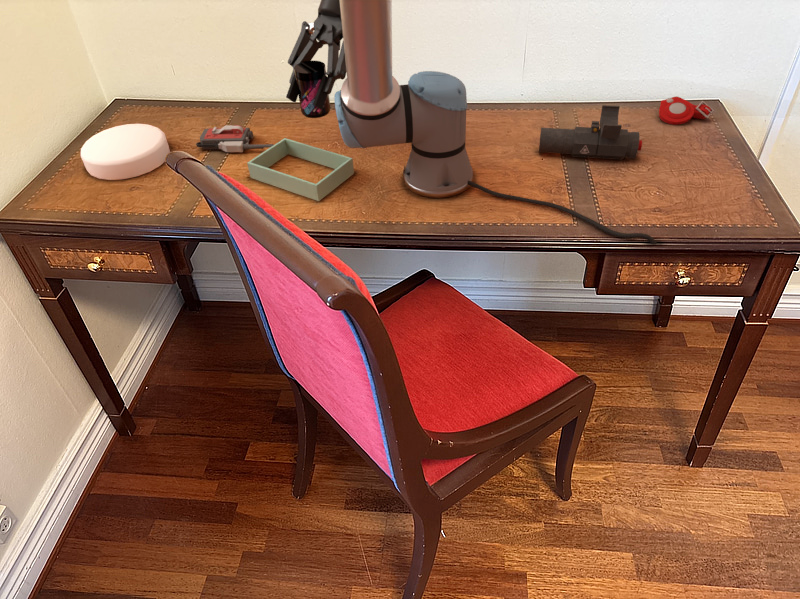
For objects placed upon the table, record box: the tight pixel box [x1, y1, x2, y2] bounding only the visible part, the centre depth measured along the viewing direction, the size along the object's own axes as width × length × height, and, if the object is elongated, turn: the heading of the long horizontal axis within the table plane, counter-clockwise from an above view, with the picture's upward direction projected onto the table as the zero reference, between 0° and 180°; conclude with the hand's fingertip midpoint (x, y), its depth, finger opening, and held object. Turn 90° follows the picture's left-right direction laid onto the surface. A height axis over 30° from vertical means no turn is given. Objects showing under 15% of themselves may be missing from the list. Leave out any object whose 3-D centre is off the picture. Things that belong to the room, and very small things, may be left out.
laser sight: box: [538, 104, 643, 161], centre depth 142 cm, size 10×22×10 cm, turn 78°
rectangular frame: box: [246, 137, 355, 202], centre depth 143 cm, size 20×13×4 cm, turn 57°
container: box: [80, 123, 171, 181], centre depth 153 cm, size 20×20×5 cm
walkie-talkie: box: [195, 124, 275, 153], centre depth 155 cm, size 9×4×20 cm
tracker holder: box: [658, 96, 715, 126], centre depth 156 cm, size 12×4×10 cm
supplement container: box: [294, 60, 331, 119], centre depth 137 cm, size 7×7×10 cm
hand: (304, 103), depth 136 cm, fingers closed on supplement container, 7 cm apart
